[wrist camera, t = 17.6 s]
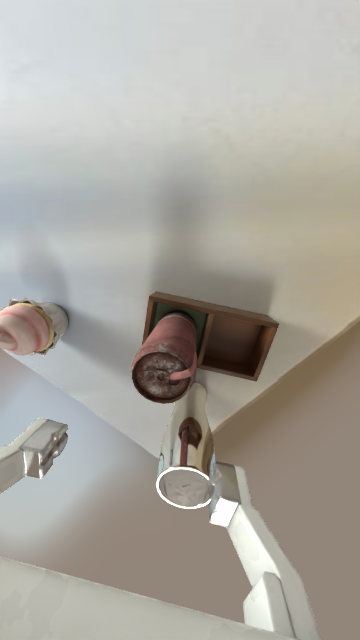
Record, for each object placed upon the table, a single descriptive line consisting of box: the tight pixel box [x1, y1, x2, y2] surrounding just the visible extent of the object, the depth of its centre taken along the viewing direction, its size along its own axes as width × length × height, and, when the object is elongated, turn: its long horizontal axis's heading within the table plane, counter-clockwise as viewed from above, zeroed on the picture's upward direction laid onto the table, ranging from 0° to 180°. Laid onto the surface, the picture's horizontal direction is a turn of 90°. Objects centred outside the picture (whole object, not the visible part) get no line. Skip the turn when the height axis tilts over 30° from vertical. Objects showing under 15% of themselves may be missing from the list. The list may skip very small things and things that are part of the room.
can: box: [132, 310, 197, 404], centre depth 23 cm, size 6×6×14 cm
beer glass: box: [156, 382, 215, 508], centre depth 27 cm, size 7×7×15 cm
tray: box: [142, 292, 279, 381], centre depth 28 cm, size 9×18×4 cm, turn 79°
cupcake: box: [0, 298, 68, 355], centre depth 27 cm, size 9×9×10 cm
